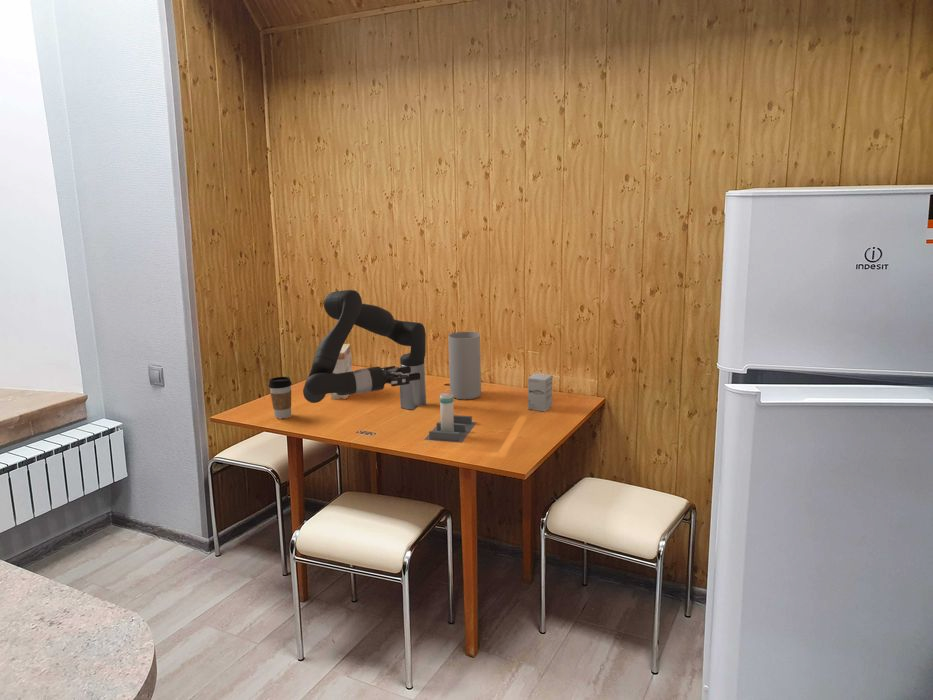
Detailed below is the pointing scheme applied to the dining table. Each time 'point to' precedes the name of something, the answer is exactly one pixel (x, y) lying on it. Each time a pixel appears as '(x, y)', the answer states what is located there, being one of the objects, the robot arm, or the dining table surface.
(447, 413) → the white bottle teal band
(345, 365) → the coffeecake box
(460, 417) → the grey twin-rail base
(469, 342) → the cylinder vase
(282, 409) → the coffee cup
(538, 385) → the supplement box
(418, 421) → the dining table surface
